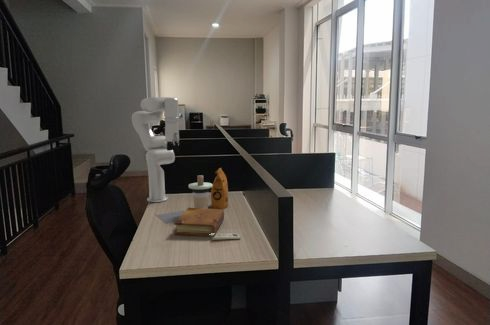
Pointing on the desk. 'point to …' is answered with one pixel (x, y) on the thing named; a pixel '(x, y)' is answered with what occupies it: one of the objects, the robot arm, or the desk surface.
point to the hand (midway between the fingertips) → (173, 151)
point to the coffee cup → (200, 198)
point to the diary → (199, 221)
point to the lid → (200, 184)
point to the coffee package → (219, 191)
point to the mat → (170, 216)
